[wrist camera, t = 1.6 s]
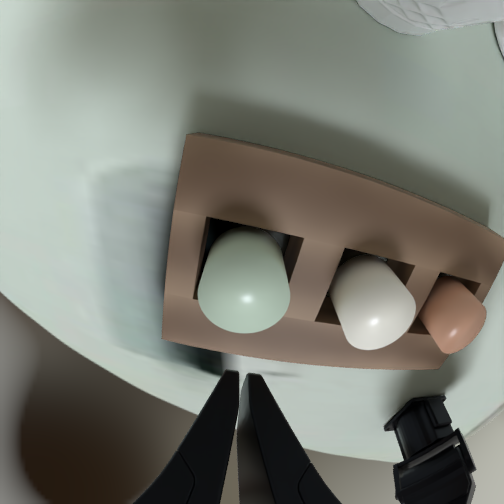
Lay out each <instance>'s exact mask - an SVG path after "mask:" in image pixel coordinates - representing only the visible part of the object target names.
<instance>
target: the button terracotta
mask: <svg viewBox="0 0 504 504" xmlns="http://www.w3.org/2000/svg"><path fill="white" fill-rule="evenodd" d="M418 317H419V318H420V320H421V321H422V323H423V324H424V326H425V327H426V329H427V330H428V332H429V333H430V334H431V336H432V337H433V339H434V341H435V342H436V344H437V345H438V347H439V348H440V350H441V351H442V352H443V353H446V354H451V353H455V352H457V351H459V350H461V349H463V348H464V347H466V346H467V345H468V344H469V343H471V342H472V341H473V340H474V338H475V337H476V336H477V335H478V333H479V332H480V330H481V329H482V327H483V325H484V322H485V319H486V309H485V307H484V306H483V305H482V304H481V302H480V301H479V300H478V299H477V298H476V297H475V296H474V295H473V294H472V293H471V292H470V291H469V290H468V289H467V288H466V287H465V286H464V285H463V284H462V283H461V282H460V281H459V280H458V279H457V278H456V277H454V276H443V277H441V278H439V279H437V280H436V281H435V283H434V285H433V287H432V289H431V291H430V293H429V295H428V297H427V299H426V301H425V302H424V304H423V306H422V308H421V310H420V311H419V313H418Z"/></svg>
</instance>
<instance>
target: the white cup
mask: <svg viewBox="0 0 504 504" xmlns="http://www.w3.org/2000/svg"><path fill="white" fill-rule="evenodd" d="M356 1H357V3H358V4H359V6H360V7H362V8H363V9H364V10H365V11H366V12H367V13H368V14H370V15H371V16H372V17H373V18H374V19H375V20H376V21H377V22H379V23H381V24H383V25H385V26H387V27H389V28H391V29H393V30H395V31H396V32H398V33H402V34H410V35H417V36H422V35H425V34H428V33H431V32H435V31H438V30H442V29H454V28H460V27H465V26H470V25H479V24H485V23H491V22H498V21H504V0H356Z"/></svg>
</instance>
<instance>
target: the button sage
mask: <svg viewBox="0 0 504 504" xmlns="http://www.w3.org/2000/svg"><path fill="white" fill-rule="evenodd" d="M198 301H199V305H200V307H201V310H202V311H203V313H204V314H205V316H206V317H207V318H208V319H209V320H210V321H211V322H212V323H214V324H215V325H217V326H218V327H220V328H222V329H224V330H227V331H230V332H235V333H255V332H259V331H262V330H265V329H267V328H269V327H271V326H273V325H274V324H276V323H277V322H278V321H279V320H280V319H281V318H282V317H283V316H284V314H285V313H286V311H287V309H288V306H289V303H290V289H289V284H288V279H287V275H286V270H285V265H284V260H283V256H282V251H281V249H280V246H279V245H278V243H277V242H276V240H275V239H274V238H273V237H272V236H271V235H269V234H268V233H267V232H265V231H263V230H261V229H258V228H254V227H246V226H243V227H236V228H232V229H230V230H228V231H226V232H224V233H222V234H221V235H220V236H219V237H218V238H217V239H216V240H215V241H214V243H213V244H212V246H211V248H210V251H209V254H208V258H207V261H206V264H205V267H204V271H203V274H202V277H201V280H200V284H199V288H198Z"/></svg>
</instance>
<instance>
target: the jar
mask: <svg viewBox="0 0 504 504" xmlns="http://www.w3.org/2000/svg"><path fill="white" fill-rule="evenodd" d="M494 27H495V33H496V37H497V40H498V44H499V47H500V50H501V52H502V54H503V57H504V21H498V22H494Z"/></svg>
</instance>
